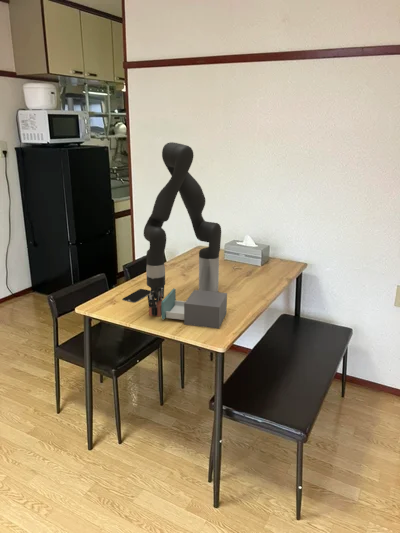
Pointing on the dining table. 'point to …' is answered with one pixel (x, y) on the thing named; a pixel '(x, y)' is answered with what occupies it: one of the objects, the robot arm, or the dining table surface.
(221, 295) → the housing
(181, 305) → the drawer
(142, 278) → the dining table surface
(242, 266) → the dining table surface
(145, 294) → the smartphone
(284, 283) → the dining table surface
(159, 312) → the block
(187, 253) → the dining table surface
